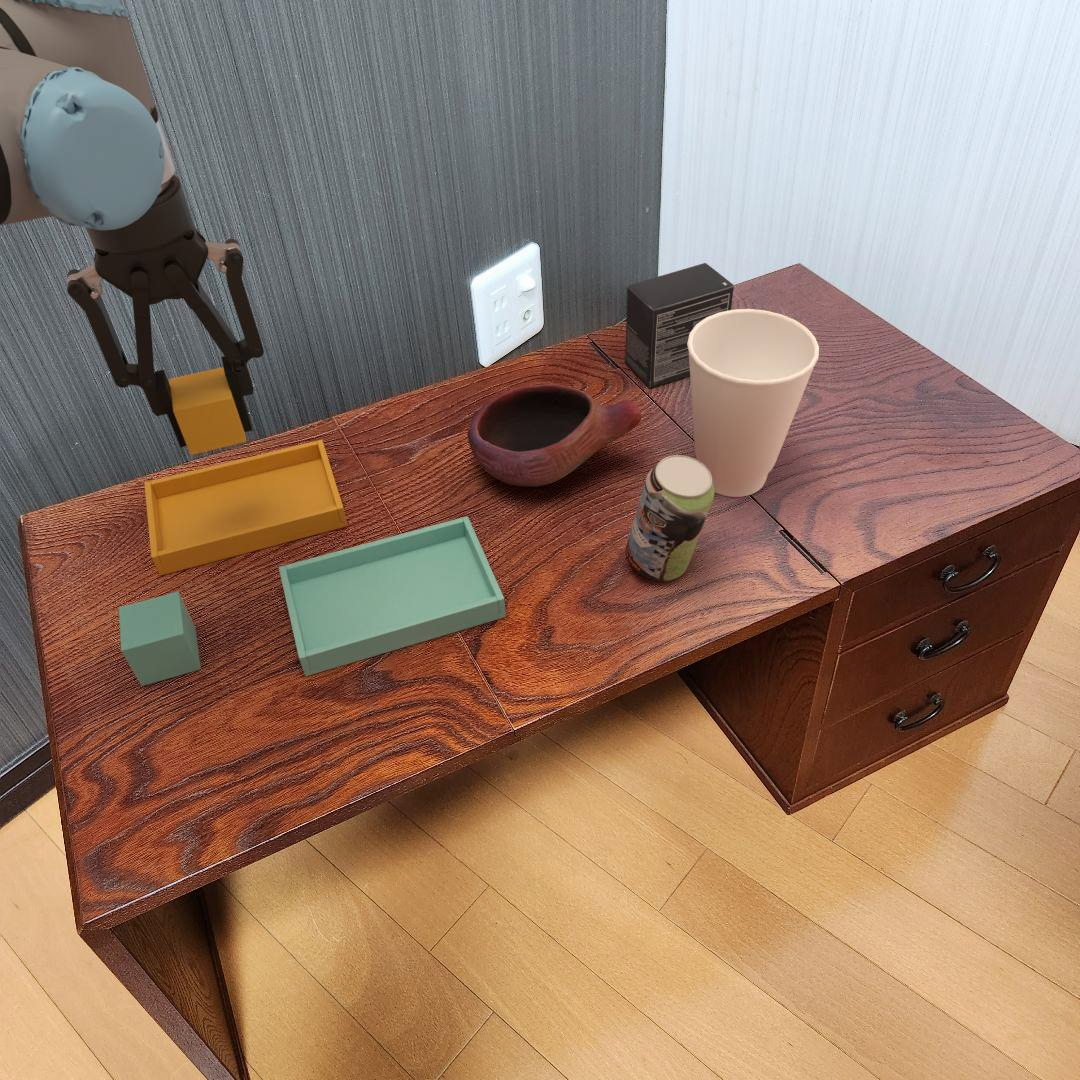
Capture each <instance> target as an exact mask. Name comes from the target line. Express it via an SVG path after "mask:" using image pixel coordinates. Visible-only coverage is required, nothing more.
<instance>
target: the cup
mask: <svg viewBox="0 0 1080 1080" xmlns="http://www.w3.org/2000/svg"><path fill="white" fill-rule="evenodd" d="M687 346H688V350H689V364H690V376H689V378H690V392H691V393H690V394H691V410H692V411H691V412H692V426H693V427H692V428H693V443H694V454H695V459H696V460H698V461H699V462H701V463H702V464H703V465H705V466H706V467H707V469H708V470H709V472H710V473H711V476H712V483H713V486H714V494H717V495H720V496H724V497H730V498H743V497H747V496H751V495H753V494H755V493H757V492H759V491H760V490H761V489H762V488H763V487H764V485H765V483H766V482H767V479H768V476H769V473H770V472H772V470H773V469H774V467H775V465H776V462H777V460H778V458H779V455H780V453H781V450H782V448H783V445H784V443H785V440H786V438H787V436H788V433H789V431H790V428H791V425H792V422H793V420H794V419H795V418H794V417H795V416H796V412H797V410H798V408H799V405H800V403H801V400H802V398H803V395H804V393H805V390H806V388H807V385H808V382H809V380H810V378H811V375H812V372H813V370H814V368H815V366H816V364H817V362H818V360H819V355H820V346H819V344H818V341H817V338H816V336H815V335H814V333H812V332H811V331H810V329H809V328H808V327H807V326H805V325H803V324H802V323H800V322H799V321H798V320H796V319H793V318H791V317H789V316H786V315H784V314H782V313H777V312H773V311H769V310H763V309H754V308H740V309H739V308H737V309H731V310H729V311H724V312H719V313H716V314H714V315H711V316H709V317H706V318H705V319H703V320H702V321H701V322H699V323H698V324H696V326H695V327H694V328H693V330H692V331H691V332H690V334H689V338H688V342H687Z"/></svg>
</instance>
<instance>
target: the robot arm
mask: <svg viewBox="0 0 1080 1080" xmlns="http://www.w3.org/2000/svg"><path fill="white" fill-rule="evenodd" d="M129 13H130V12H129V10H128V8H127V7H126V4H125V1H124V0H0V226H6V225H11V224H16V223H22V222H28V221H33V220H37V219H42V218H43V219H44V218H51V217H52V218H54V219H55V220H57V221H59V222H61V223H62V224H64V225H68V226H70V227H71V226H72V227H81V228H82V227H83V228H85V229H86V232H87V234H88V237H89V239H90V241H91V244H92V246H93V249H94V257H93V261H94V263H92V264H91V265H89V266H87V267H85V268H83V269H82V270H80V269H77V268H73V269H69V270H68V272H67V274H66V290H67V294H68V296H70V298H71V299H72V300H73V301H74V302H75V303H76V304H77V305H78V306H79V307H80V308H81V310H83V312H84V313H85V316H86V318H87V320H88V322H89V325H90V327H91V330H92V332H93V335H94V337H95V339H96V341H97V344H98V346H99V349H100V351H101V353H102V356H103V358H104V361H105V363H106V365H107V368H108V370H109V373H110V374H111V377H112V380H113V382H114V383H115V385H116V386H117V387H119V388H122V389H125V388H127V387H129V386H136V387H140V388H141V389H142V390H143V392H144V395H145V398H146V400H147V402H148V405H149V408H150V410H151V412H152V413H153V414H154V415H155V417H161V416H164V415H166V416H167V417H168V420H169V423H170V425H171V427H172V430H173V433H174V435H175V437H176V440H177V442H178V445H179V447H180V448H184V447H187V445H186V442H185V440H184V437H183V435H182V432H181V430H180V427H179V425H178V422H177V420H176V417H175V414H174V412H173V406H172V396H171V389H170V383H169V379H168V377H167V374H166V372H165V370H164V369H160V370H155V361H154V349H153V337H152V335H153V334H152V322H151V306H152V305H156V304H160V303H161V302H163V301H166V300H180V299H181V300H182V299H183V301H184V302H185V304H186V306H188V308H189V309H190V310H192V311H193V313H194V314H195V316H196V317H197V318H198V320H199V321H200V323H201V324H202V325H203V327H204V328H205V330H206V331H207V333H208V334H209V336H210V337H211V338H212V340H213V341H214V343H215V344H216V346H217V347H218V349H219V350H220V352H221V354H223V356H220V358H221V362H222V367H223V368H224V373H225V376H226V379H227V382H228V385H229V388H230V390H231V393H232V396H233V399H234V402H235V405H236V408H237V411H238V414H239V417H240V420H241V423H242V426H243V429H244V432H245V433H248V432H251V431H252V432H253V431H254V430H253V426H252V421H251V417H250V413H249V409H248V406H247V403H246V401H245V397H246V396H250V395H253V394H254V390H255V388H254V385H253V381H252V377H251V374H250V370H249V368H248V363H249V361H251V360H252V359H254V358H255V359H258V358H259V359H260V358H262V356H263V355H264V353H265V351H264V346H263V343H262V338H261V335H260V331H259V328H258V325H257V322H256V319H255V315H254V313H253V309H252V306H251V302H250V299H249V296H248V292H247V290H246V287H245V283H244V280H243V271H244V270H243V268H244V256H243V255H244V254H243V252H242V248H241V245H240V243H239V241H238V239H235V238H228V239H226V240H225V241H224V242H215V241H207V240H206V238H205V237H204V235H203V234H201V233H200V231H198V229H197V228H196V226H195V223H194V221H193V217H192V214H191V211H190V208H189V205H188V202H187V199H186V195H185V192H184V189H183V186H182V183H181V180H180V178H179V177H178V176H177V175H175V172H176V166H175V162H174V159H173V155H172V152H171V149H170V146H169V142H168V140H167V136H166V132H165V130H164V126H163V124H162V121H161V118H160V115H159V113H158V110H157V107H156V103H155V99H154V97H153V94H152V90H151V87H150V84H149V80H148V77H147V74H146V71H145V67H144V65H143V61H142V58H141V55H140V52H139V48H138V45H137V42H136V39H135V35H134V32H133V29H132V26H131V23H130V19H129V17H130V14H129ZM207 259H209V260H211V261H212V262H213V263H214V266H215V269H216V270H217V271H218V272H220V273H222V274H224V275H225V280H226V283H227V288H228V291H229V294H230V297H231V300H232V303H233V306H234V309H235V313H236V315H237V318H238V321H239V325H240V328H241V331H242V334H243V338H242V339H240V340H238V339H237V338H236V336H235V334H234V333H233V331H232V330H231V329H230V327H229V326H228V324H227V323H226V321H225V319H224V318H223V316H222V314H221V313H220V312H219V310H218V309H217V308H216V306H215V305H214V302H212V300H211V298H210V296H208V294H207V293H206V291H205V289H204V288H203V285H202V283H201V282H200V280H199V278H200V276H201V273H202V271H203V269H204V267H205V264H206V262H207ZM103 280H104V281H106V282H107V283H108V284H111V285H112V286H113V287H114V288H116V289H118V290H119V291H121V292H122V293H124V294H125V295H126V296H128V297H129V298H132V299H131V300H132V301H131V302H132V310H133V324H134V335H135V344H136V345H135V346H136V357H137V363H129V362H128V359H127V356H126V354H125V351H124V349H123V346H122V344H121V341H120V339H119V336H118V334H117V332H116V329H115V327H114V324H113V321H112V318H111V317H110V314H109V312H108V309H107V307H106V305H105V302H104V300H103V297H102V295H103V284H102V281H103Z"/></svg>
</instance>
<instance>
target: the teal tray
mask: <svg viewBox="0 0 1080 1080" xmlns="http://www.w3.org/2000/svg"><path fill="white" fill-rule="evenodd" d="M278 571H279V576H280V581H281V584H282V589H283V593H284V598H285V603H286V607H287V612H288V617H289V621H290V625H291V630H292V633H293V639H294V642H295V647H296V648H295V649H296V652H297V657H298V660H299V663H300V666H301V668H302V672H303V674H304V676H305V677H309V676H312V675H315V674H318V673H322V672H326V671H329V670H333V669H336V668H339V667H342V666H347V665H349V664H353V663H355V662H359V661H362V660H367V659H369V658H373V657H376V656H379V655H383V654H386V653H389V652H393V651H396V650H399V649H402V648H403V649H404V648H406V647H409V646H414V645H417V644H420V643H423V642H426V641H430V640H433V639H436V638H440V637H443V636H447V635H450V634H454V633H457V632H460V631H464V630H467V629H470V628H473V627H477V626H480V625H484V624H486V623H490V622H494V621H497V620H501V619H504V618H506V617H507V615H506V603H505V602H506V601H505V597H504V594H503V592H502V589H501V588H500V585H499V583H498V581H497V579H496V576H495V574H494V572H493V569H492V567H491V565H490V563H489V561H488V558H487V556H486V554H485V552H484V550H483V547H482V545H481V543H480V540H479V538H478V536H477V534H476V531H475V529H474V527H473V525H472V522H471V520H470V518H469V516H463V517H459V518H455V519H452V520H448V521H444V522H441V523H438V524H433V525H430V526H426V527H422V528H418V529H414V530H411V531H407V532H404V533H399V534H396V535H392V536H389V537H385V538H381V539H378V540H374V541H370V542H367V543H362V544H360V545H356V546H352V547H348V548H344V549H340V550H337V551H334V552H330V553H326V554H321V555H319V556H315V557H311V558H306V559H304V560H300V561H295V562H292V563H288V564H286V565H285V564H284V565H282V566H278Z"/></svg>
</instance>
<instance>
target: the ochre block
mask: <svg viewBox="0 0 1080 1080" xmlns="http://www.w3.org/2000/svg"><path fill="white" fill-rule="evenodd" d="M168 382H169V384H170V389H171V396H172V406H173V412H174V414H175V417H176V420H177V422H178V425H179V427H180V430H181V432H182V435H183V437H184V440H185V442H186V445H187V446H186V447H187V450H188V452H189V454H190V456H193V455H198V454H201V453H205V452H209V451H214V450H218V449H222V448H223V449H224V448H226V447H230V446H235V445H239V444H244V443H247V440H248V439H247V436H246V432H244V429H243V426H242V423H241V420H240V417H239V414H238V411H237V408H236V405H235V402H234V399H233V396H232V393H231V390H230V388H229V385H228V382H227V379H226V376H225V373H224V368H223V366H222V367H217V368H212V369H208V370H204V371H199V372H194V373H190V374H186V375H181V376H176V377H172V378H169V379H168Z"/></svg>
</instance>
